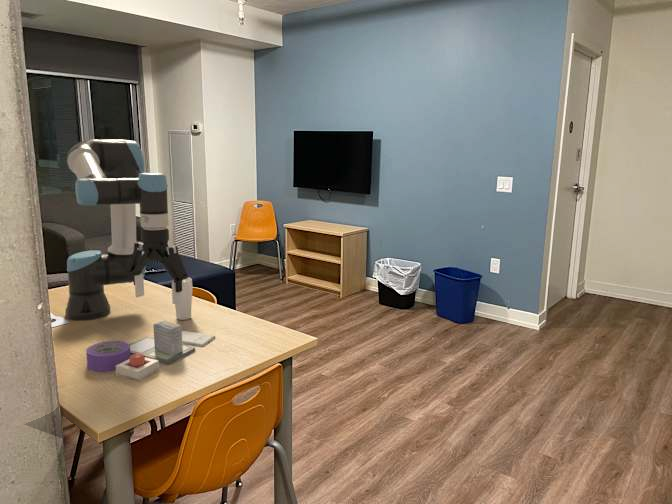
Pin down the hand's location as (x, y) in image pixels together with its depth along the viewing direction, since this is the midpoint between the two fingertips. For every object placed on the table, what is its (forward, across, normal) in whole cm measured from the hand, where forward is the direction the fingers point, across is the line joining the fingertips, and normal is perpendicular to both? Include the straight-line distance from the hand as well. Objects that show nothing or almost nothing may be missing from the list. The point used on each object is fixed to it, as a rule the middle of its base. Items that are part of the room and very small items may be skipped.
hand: (158, 299), depth 149 cm
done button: (+17, 0, -10) cm, 20 cm away
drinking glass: (+19, -18, +33) cm, 42 cm away
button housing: (+19, 0, -10) cm, 21 cm away
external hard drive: (+20, -2, +17) cm, 26 cm away
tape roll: (+20, -12, -8) cm, 24 cm away
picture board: (+19, -6, +5) cm, 20 cm away
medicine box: (+18, -1, +4) cm, 19 cm away
